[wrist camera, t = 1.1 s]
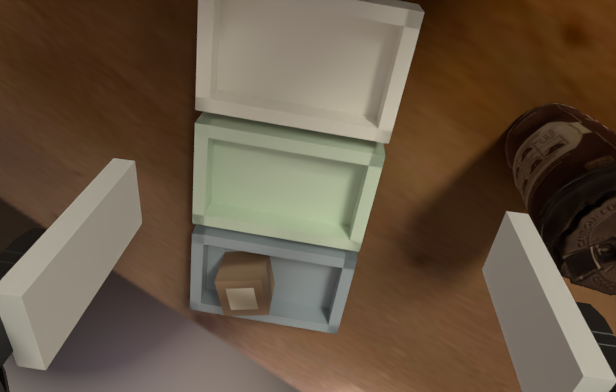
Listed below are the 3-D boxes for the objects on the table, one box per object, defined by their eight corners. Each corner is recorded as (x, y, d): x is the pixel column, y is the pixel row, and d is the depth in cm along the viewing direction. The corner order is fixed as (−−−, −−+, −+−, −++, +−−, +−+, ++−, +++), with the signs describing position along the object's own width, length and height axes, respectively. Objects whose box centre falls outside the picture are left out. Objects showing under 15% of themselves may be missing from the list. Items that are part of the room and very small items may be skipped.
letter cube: (225, 251, 42) (214, 282, 39) (268, 250, 42) (261, 280, 38) (233, 284, 44) (223, 316, 41) (275, 283, 44) (268, 315, 40)
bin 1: (211, -34, 31) (198, -29, 28) (418, 4, 31) (424, 12, 29) (206, 95, 36) (195, 110, 33) (386, 127, 36) (388, 143, 33)
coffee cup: (470, 180, 38) (520, 293, 27) (505, 81, 33) (583, 166, 22) (577, 196, 38) (671, 314, 27) (626, 98, 33) (763, 191, 22)
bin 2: (201, 213, 41) (191, 233, 39) (356, 239, 42) (356, 261, 39) (198, 287, 46) (189, 309, 44) (337, 310, 46) (336, 333, 44)
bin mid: (205, 107, 36) (194, 122, 34) (382, 138, 36) (385, 156, 34) (201, 203, 41) (192, 223, 38) (358, 230, 41) (359, 251, 39)
